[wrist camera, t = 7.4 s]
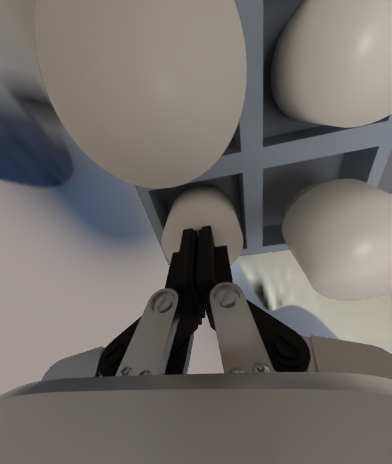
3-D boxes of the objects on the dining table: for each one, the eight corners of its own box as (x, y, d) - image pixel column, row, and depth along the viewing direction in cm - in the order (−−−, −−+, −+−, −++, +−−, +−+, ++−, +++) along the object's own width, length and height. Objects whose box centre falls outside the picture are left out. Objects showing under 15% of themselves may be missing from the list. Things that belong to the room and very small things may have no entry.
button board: (98, 37, 10) (62, 13, 7) (411, -74, 8) (511, -163, 5) (173, 243, 18) (168, 264, 16) (332, 220, 16) (356, 241, 13)
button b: (262, 14, 9) (314, -68, 5) (377, -23, 8) (559, -162, 4) (262, 128, 11) (294, 140, 7) (347, 109, 11) (435, 110, 7)
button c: (165, 185, 14) (149, 217, 10) (229, 172, 13) (240, 201, 9) (181, 235, 17) (174, 276, 13) (234, 227, 16) (245, 268, 12)
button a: (100, 43, 7) (-26, -36, 3) (217, 2, 7) (239, -163, 3) (144, 163, 10) (104, 200, 6) (230, 144, 9) (250, 172, 5)
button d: (275, 179, 10) (320, 224, 6) (370, 161, 10) (491, 200, 6) (272, 243, 13) (303, 304, 9) (346, 234, 12) (415, 295, 8)
